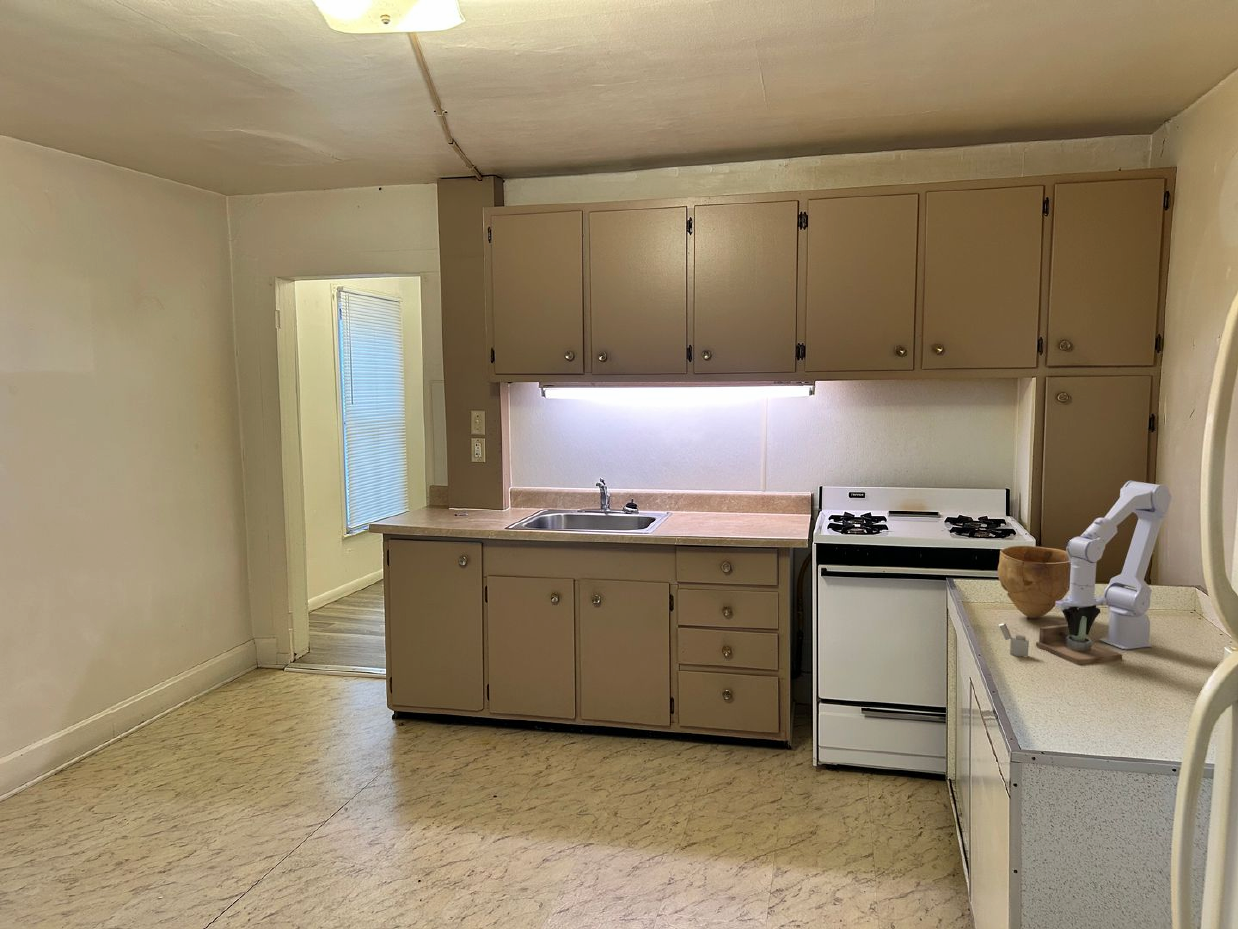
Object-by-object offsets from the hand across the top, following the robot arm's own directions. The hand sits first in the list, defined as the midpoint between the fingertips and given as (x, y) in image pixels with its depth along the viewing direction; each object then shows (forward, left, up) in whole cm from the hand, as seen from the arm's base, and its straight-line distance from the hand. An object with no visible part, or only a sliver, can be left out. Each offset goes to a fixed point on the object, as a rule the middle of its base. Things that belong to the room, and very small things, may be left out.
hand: (1079, 634), depth 217 cm
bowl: (-11, -28, -5) cm, 31 cm away
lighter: (+17, -4, -5) cm, 18 cm away
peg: (0, 0, -2) cm, 2 cm away
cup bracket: (0, 0, -5) cm, 5 cm away
